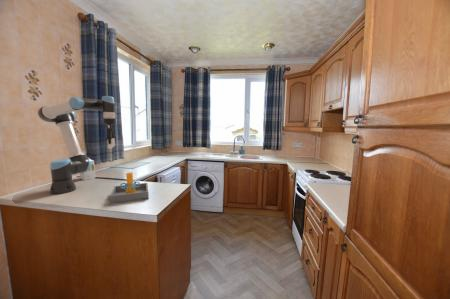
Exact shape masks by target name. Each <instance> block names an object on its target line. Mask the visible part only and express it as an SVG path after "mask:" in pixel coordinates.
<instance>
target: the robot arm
mask: <svg viewBox="0 0 450 299" xmlns="http://www.w3.org/2000/svg"><path fill="white" fill-rule="evenodd" d="M115 105H116V103H115V98H114V96H110V95H104V96H101V99H95V98H87V97H78V96H72V97H70V99H69V100H67V101H63V102H60V103H57V104H53V105H49V104H48V105H44V106H42V107H39V108H38V110H37V116H38V117H39V119H41V120H42V121H44V122H48V123H55V126H56V127H58V128H59V129H60V130H59V131H60V133H61V135H62V136H61V137H62V139H63V141H64V145H65V147H66V150H67V153H68V157H65V158H59V159H55V160H52V161H51V162H50V166H49V169H50V175H51V185H50V187H49V193H50V194H51V195H61V194H66V193H67V194H68V193H71V192H75V191H76V190H77V186H76V183H75V182H74V180H73V175H77V174H80V173H83V172H86V171H88V170H90V168H91V166H92V162H91V160H92V159H91V158H90V157H88V156H86V154H85V153H83V151H82V149H81V146H80V142H79V140H78V137H77V134H76V131H75V129H74V128H75V127H74V126H73V125H74V124H75V121H76V118H77V117H76V113H75V112H77V111H81V110H85V111H86V110H88V111H95V112H96V111H102V116H103V124H105V125H106V138H105V140H106V141H107V149H108V150H109V149H111V150H112V149H113V148H115V147H116V142H115V141H116V140H115V139H116V136H115V129H114V128H115V127H114V125H115V124H117V122H116V116H117V114H116V110H115V109H116V108H115Z"/></svg>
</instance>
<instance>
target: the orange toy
mask: <svg viewBox="0 0 450 299" xmlns="http://www.w3.org/2000/svg"><path fill="white" fill-rule="evenodd" d="M125 176H126V178H125V179H126V182H122V183H120V184H119V186H120V187H121V188H122V185H124V188H122V189H124V190H126V194H128V193H135V187H136V188H137V187H139V186H140V184H141V183H140V182H139V181H136V180H135V179H134V174H133V171H130V172H126V173H125ZM134 184H135V185H136V184H139V185H138V186H135V185H134ZM125 186H126V187H125ZM125 188H126V189H125Z"/></svg>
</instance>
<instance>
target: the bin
mask: <svg viewBox="0 0 450 299" xmlns="http://www.w3.org/2000/svg"><path fill="white" fill-rule="evenodd" d="M124 185H125V184H122V185H121V186H122V188H124ZM134 185H135V184H134ZM138 185H139V183H136V185H135V186H138ZM125 187H126V186H125ZM122 188H121V187H120V185H115V186H113V188H112V191H110V192H111V193H110V195H109V202H110V205H112V204H120V203H128V202H135V201H143V200H149V195H150V194H149V184H148V182H144V183H140V186H139V187H137V188H136V187H135V193H128V194H126V190H124V189H122ZM125 189H126V188H125Z"/></svg>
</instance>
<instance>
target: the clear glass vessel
mask: <svg viewBox="0 0 450 299" xmlns="http://www.w3.org/2000/svg"><path fill="white" fill-rule="evenodd" d="M91 162H92V166H91V168H90V170H88V171H86V172H83V173H79V179H80V180H82V181H87V180H93V179H96V168H95V160H93V159H91Z"/></svg>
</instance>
